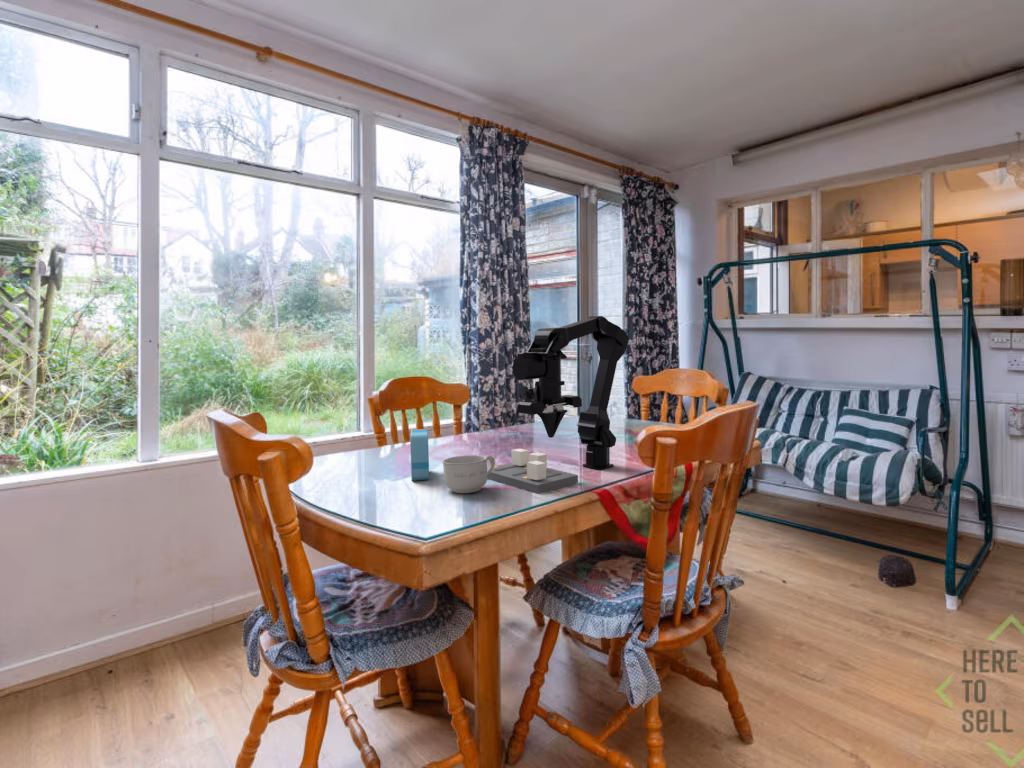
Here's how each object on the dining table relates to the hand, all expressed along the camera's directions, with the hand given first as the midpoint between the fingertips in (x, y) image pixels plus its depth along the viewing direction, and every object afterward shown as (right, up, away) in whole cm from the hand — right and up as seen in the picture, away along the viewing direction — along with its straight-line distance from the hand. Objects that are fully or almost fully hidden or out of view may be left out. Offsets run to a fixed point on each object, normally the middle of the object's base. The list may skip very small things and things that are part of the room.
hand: (550, 437), depth 150 cm
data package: (-35, -11, +5) cm, 37 cm away
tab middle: (-3, -8, +2) cm, 9 cm away
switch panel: (-6, -11, 0) cm, 12 cm away
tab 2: (-4, -9, -8) cm, 13 cm away
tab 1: (-8, -8, +7) cm, 13 cm away
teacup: (-20, -12, -9) cm, 25 cm away
